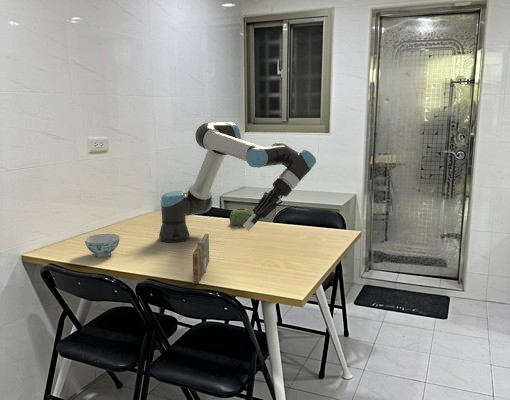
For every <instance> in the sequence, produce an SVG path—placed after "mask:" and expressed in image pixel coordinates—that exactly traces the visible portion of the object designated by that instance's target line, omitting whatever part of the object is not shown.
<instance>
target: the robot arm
mask: <svg viewBox="0 0 510 400" xmlns="http://www.w3.org/2000/svg"><path fill="white" fill-rule="evenodd" d="M194 136H195V137H194V139H195V141H196V144H197V145H198V146H199V147H200V148H202V149H205V150H207V151H206V153H205V156H204V159H203V161H202V164H201V166H200V169H199V171H198V174H197V176H196V179H195V181H194V184H191V185H190V186H189V188H188V190H187V192H185V191H183V190H174V191H173V190H172V191H168V192H165V193H164V194H162V196H161V198H160V199H161V201H160V206H161V227H160V230H159V234H158V240H159V241H160V242H164V243H180V242H185V241H188V240H189V239H190V235H191V234H190V232H189V229H188V226H187V223H186V220H187V219H186V218H187V217H188V216H194V215H198V214H199V215H200V214H204V213H207V212H208V211H210V210H211V208H212V207H213V195H212V191H211V189H212V187H213V185H214V183H215V180H216V178H217V175H218V174H219V171H220V169H221V167H222V163H224V159H225V157H226V156H231V157H233V158H236V159H239V160H241V161H244V162H246V163H247V164H248V165H249V166H250V167H251V168H264V167H270V166H279V165H282V166H284V167H285V169H284V170H283V171H282V172H281V174H280V175H279V176H278V178H276V180H274V181H273V182H272V189H270V191H269V192H267V191H265V192H264V193H263V194H262V197H261V198H260V200H259V201H258V202H257V204H256V205H255V206H254V208H253V210H252V211H253V212H252V214H251V215H252V216H251V217H250V218H249V219H248V220H247V221H246V222H245V224H244V225H243V226H242V227H243V228H245V229H246V230H247V231H248V232H249V231H251V229H253V227H254V226H255V225H256V224H257V223H258V222H259V220H261V219H265V218H266V217H267V216H268V215H269V214H270V213H271V212H273V211H274V210H276V208H278V206H279V205H281V204H282V203H283V201H282V198H283V197H285V198H287V197H288V196H289V195H290V194H291V192H292V191H293V189H295V188H296V187H297V186H298V184H299V183H300V182H301V181H302V180H303V179H304V177H306V176H307V174H308V173H309V172H310V171H311V170H312V169H313V167H314V166H315V165H316V163H317V159H316V157H315V156H314V155H313V154H312V153H311V152H310V151H309V150H307V149H303V150H301V151H300V152H298V151H296V150H295V149H293V148H292V147H290V146H288V144H286V143H283V142H281V141H276V142H275V143H273V144H272V145H271V146H261V145H257V144H255V143H252V142H249V141H246V140H243V139H241V137H242V136H241V130H240V128H239V126H238V125H237V124H236V123H235V122H229V121H224V122H221V121H220V122H205V123H203V124H201V125H200V126H198V127H197V129H196V131H195V135H194Z"/></svg>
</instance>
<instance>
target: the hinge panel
mask: <svg viewBox="0 0 510 400" xmlns="http://www.w3.org/2000/svg"><path fill="white" fill-rule="evenodd" d="M200 242H205V243H206V257H205V258H203V268H204V273H203V274H206V273H207V267H208V266H209V265H208V264H209V262H210V234H209V233H204V234H203V236H202V239H201V240H200ZM205 272H206V273H205Z"/></svg>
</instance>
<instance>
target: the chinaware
mask: <svg viewBox="0 0 510 400" xmlns="http://www.w3.org/2000/svg"><path fill="white" fill-rule="evenodd" d="M120 239H121V236H120V235H119V234H116V233H98V234H97V233H96V234H93V235H89V236H87V237H85V238H84V244H85V246H86V247H87V249H88V250H89V251H90V252H91V253H93V254H94V255H95V257H97V258H98V257H99V258H105V257H109V256H112V253H113V252H114V251H115V250H116V249H117V248H118V246H119V243H120Z"/></svg>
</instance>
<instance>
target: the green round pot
mask: <svg viewBox="0 0 510 400" xmlns="http://www.w3.org/2000/svg"><path fill="white" fill-rule="evenodd" d="M252 215H253V214H252V213H251V211H250V209H249V208H245V207H244V208H243V207H237V208H235V209H232V211H231V212H230V215H229V221H230V222H229V223H230V224H231V225H232V226H235V227H244V226H243V225H244V224H245V222H246V221H247V220H248V219H249V218H250V217H251V216H252Z"/></svg>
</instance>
